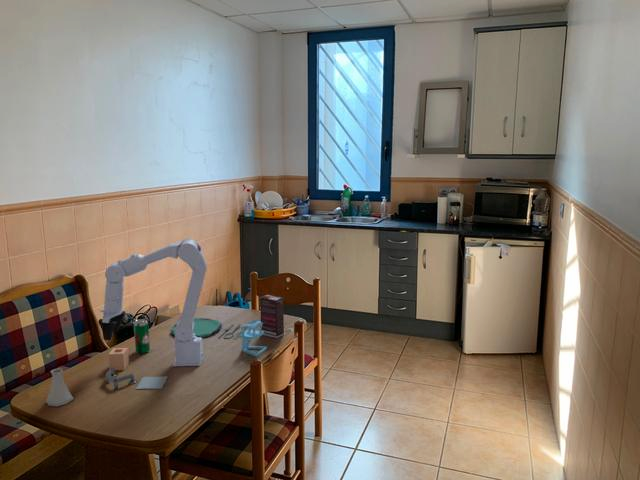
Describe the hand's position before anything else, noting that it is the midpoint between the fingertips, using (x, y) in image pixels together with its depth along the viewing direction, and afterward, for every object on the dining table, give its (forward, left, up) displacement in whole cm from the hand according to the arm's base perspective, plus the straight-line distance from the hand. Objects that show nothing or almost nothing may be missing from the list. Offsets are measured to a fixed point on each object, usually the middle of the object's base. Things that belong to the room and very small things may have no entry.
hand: (111, 335), depth 176 cm
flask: (+8, +23, -12) cm, 27 cm away
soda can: (-7, -13, -12) cm, 19 cm away
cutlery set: (-28, -32, -12) cm, 45 cm away
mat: (-17, +13, -12) cm, 24 cm away
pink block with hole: (-2, 0, -12) cm, 12 cm away
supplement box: (-55, -27, -12) cm, 62 cm away
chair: (-48, -11, -12) cm, 50 cm away
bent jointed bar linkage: (-6, +12, -12) cm, 18 cm away
